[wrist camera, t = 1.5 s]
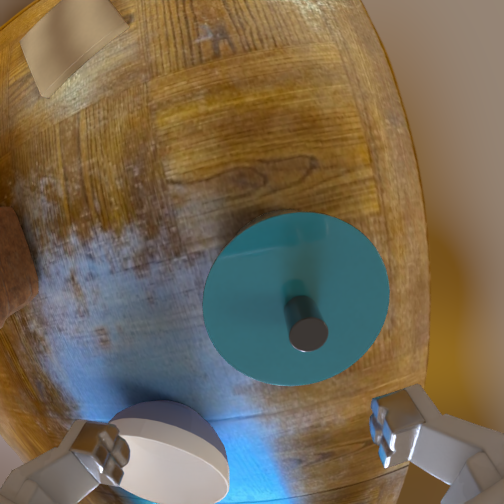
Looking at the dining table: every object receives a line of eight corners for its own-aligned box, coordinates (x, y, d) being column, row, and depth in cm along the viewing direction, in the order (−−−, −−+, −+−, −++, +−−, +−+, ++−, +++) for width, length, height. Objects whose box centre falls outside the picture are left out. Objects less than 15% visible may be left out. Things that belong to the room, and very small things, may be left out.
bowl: (133, 449, 35) (116, 494, 25) (104, 371, 31) (70, 420, 22) (236, 460, 35) (233, 512, 25) (230, 382, 31) (223, 445, 22)
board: (95, -18, 19) (90, -23, 18) (130, 27, 22) (125, 21, 20) (25, 44, 21) (19, 41, 20) (48, 98, 23) (40, 96, 22)
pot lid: (330, 172, 19) (353, 170, 14) (405, 320, 22) (432, 348, 17) (168, 278, 21) (147, 303, 16) (268, 400, 23) (270, 439, 19)
